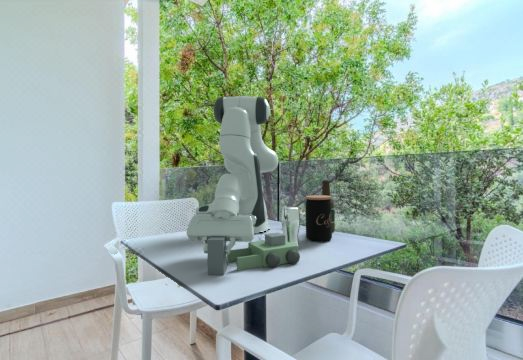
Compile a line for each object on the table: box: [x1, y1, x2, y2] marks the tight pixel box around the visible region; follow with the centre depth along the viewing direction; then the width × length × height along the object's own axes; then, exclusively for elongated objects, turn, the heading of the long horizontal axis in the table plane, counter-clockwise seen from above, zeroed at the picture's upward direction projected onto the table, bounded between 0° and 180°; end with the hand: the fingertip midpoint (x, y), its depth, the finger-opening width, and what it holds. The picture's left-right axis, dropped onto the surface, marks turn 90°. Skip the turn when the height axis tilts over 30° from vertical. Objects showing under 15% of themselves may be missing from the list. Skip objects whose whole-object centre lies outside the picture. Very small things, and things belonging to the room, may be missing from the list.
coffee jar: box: [305, 194, 333, 243], centre depth 130 cm, size 11×11×18 cm
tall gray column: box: [206, 237, 228, 276], centre depth 90 cm, size 4×4×10 cm
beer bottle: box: [321, 179, 336, 233], centre depth 146 cm, size 8×8×24 cm
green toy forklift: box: [226, 232, 301, 271], centre depth 101 cm, size 16×20×8 cm
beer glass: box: [280, 206, 301, 249], centre depth 117 cm, size 7×7×15 cm
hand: (216, 252), depth 90 cm, fingers closed on tall gray column, 5 cm apart
